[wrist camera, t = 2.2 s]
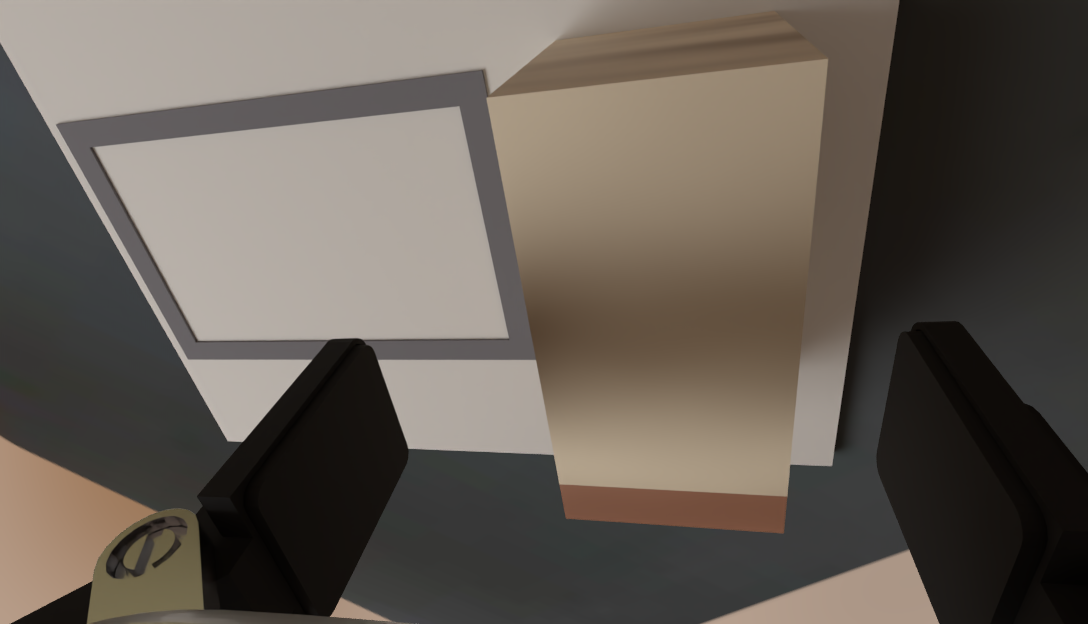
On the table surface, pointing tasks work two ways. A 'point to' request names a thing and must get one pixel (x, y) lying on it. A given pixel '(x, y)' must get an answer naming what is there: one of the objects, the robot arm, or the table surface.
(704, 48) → the block
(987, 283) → the table surface
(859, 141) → the mat
